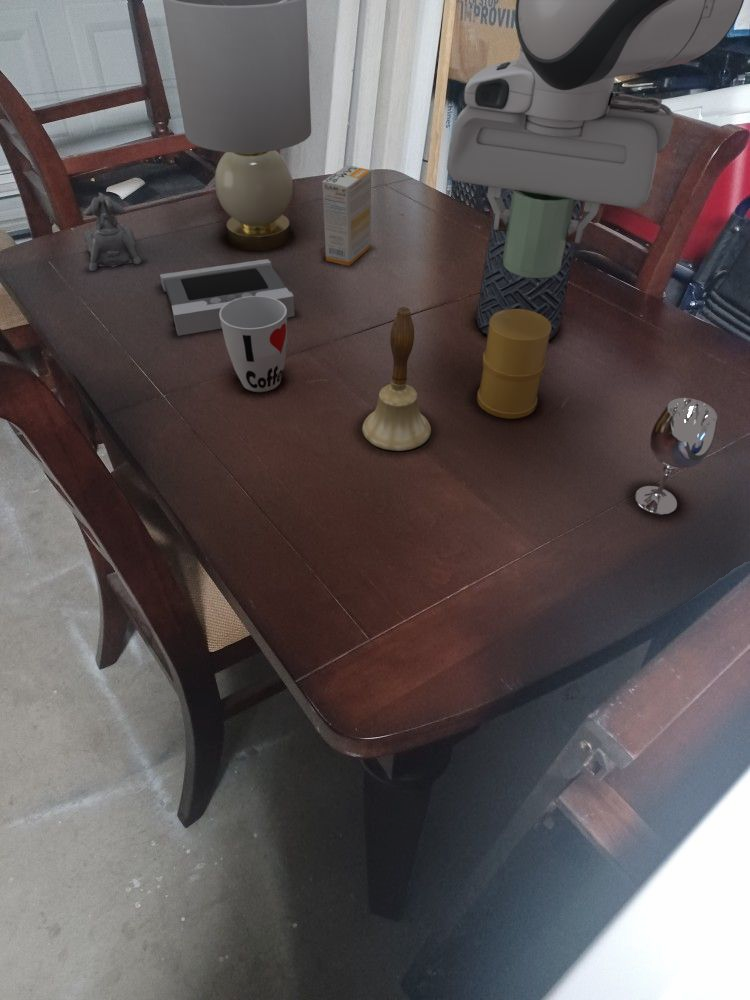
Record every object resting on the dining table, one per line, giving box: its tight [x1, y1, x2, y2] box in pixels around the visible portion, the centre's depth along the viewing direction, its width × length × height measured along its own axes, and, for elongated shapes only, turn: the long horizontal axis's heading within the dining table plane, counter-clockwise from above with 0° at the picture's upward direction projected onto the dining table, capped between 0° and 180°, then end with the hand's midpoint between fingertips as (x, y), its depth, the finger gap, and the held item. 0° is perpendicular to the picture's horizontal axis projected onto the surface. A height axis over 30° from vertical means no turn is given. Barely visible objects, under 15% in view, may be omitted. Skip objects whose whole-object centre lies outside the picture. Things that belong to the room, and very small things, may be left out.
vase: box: [475, 189, 584, 340], centre depth 93 cm, size 12×12×28 cm
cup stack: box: [476, 309, 551, 420], centre depth 85 cm, size 8×8×11 cm
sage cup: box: [503, 190, 576, 278], centre depth 73 cm, size 6×6×8 cm
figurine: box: [82, 192, 143, 272], centre depth 113 cm, size 8×10×11 cm
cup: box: [219, 296, 288, 393], centre depth 88 cm, size 8×8×10 cm
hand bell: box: [361, 306, 432, 452], centre depth 79 cm, size 8×8×16 cm
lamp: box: [162, 0, 312, 252], centre depth 110 cm, size 20×20×35 cm
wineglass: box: [634, 397, 718, 516], centre depth 72 cm, size 6×6×12 cm
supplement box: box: [321, 164, 372, 267], centre depth 114 cm, size 8×5×13 cm, turn 153°
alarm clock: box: [159, 258, 296, 337], centre depth 105 cm, size 17×5×16 cm
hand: (536, 234), depth 74 cm, fingers closed on sage cup, 6 cm apart
